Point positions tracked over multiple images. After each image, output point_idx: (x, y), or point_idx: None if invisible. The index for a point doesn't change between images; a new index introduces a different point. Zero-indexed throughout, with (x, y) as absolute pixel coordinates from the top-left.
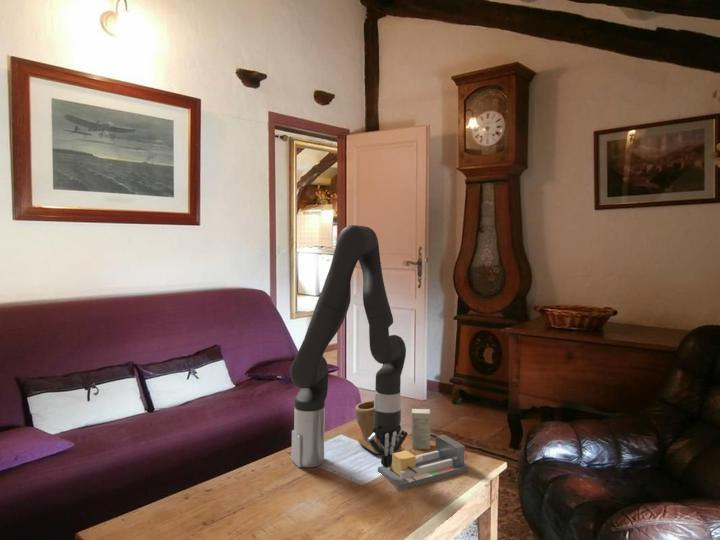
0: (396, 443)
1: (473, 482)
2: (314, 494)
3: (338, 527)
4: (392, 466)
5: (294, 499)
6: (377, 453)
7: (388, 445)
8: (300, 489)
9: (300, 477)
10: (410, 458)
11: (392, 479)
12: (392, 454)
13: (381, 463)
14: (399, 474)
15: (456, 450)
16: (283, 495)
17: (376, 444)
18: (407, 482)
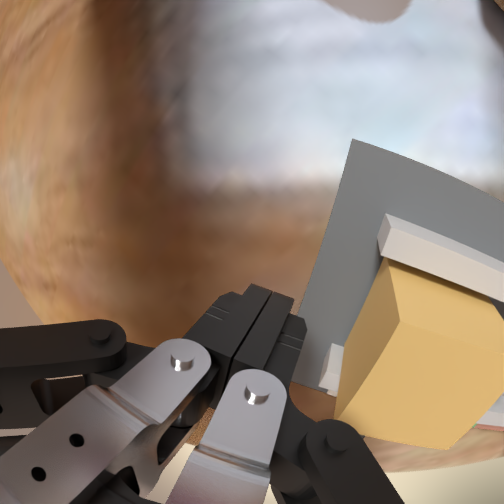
0: (370, 491)
1: (483, 460)
2: (36, 137)
3: (42, 307)
4: (384, 271)
5: (9, 133)
6: (499, 5)
7: (140, 496)
8: (30, 87)
9: (63, 10)
10: (411, 439)
11: (297, 314)
12: (397, 321)
13: (223, 297)
14: (349, 336)
15: None
16: (6, 100)
17: (13, 422)
18: (319, 387)
